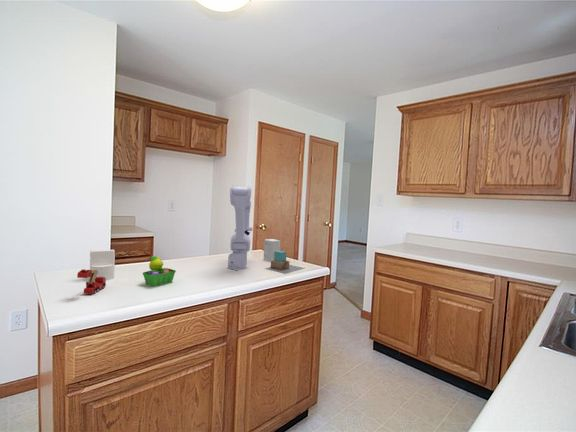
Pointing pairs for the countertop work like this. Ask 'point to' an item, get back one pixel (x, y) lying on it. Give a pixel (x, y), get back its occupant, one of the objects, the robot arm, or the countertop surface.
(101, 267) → the base with upright slab
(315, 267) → the countertop surface
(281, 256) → the teal block
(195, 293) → the countertop surface
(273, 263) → the base brick
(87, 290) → the toy fire truck
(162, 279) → the fruit basket
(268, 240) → the small box
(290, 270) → the baseplate
